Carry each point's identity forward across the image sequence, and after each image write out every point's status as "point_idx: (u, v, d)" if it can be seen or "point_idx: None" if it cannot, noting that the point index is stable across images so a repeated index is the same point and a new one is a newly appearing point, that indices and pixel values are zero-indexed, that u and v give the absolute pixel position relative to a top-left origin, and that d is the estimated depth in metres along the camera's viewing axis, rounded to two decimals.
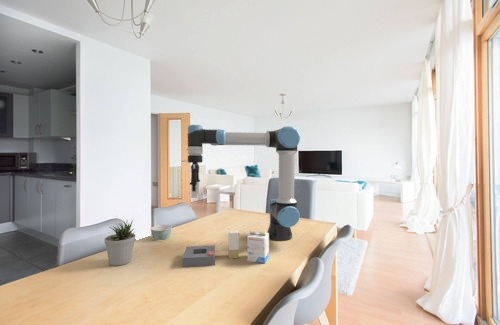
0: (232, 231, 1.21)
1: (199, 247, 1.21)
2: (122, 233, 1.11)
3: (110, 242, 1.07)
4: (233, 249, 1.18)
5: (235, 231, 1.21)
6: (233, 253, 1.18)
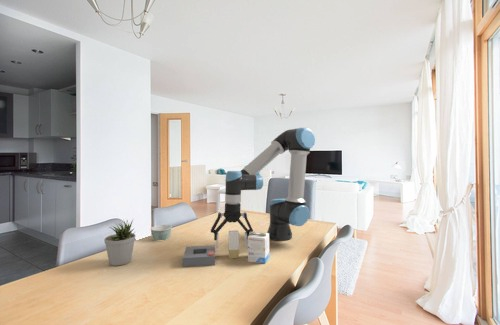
0: (232, 231, 1.21)
1: (199, 247, 1.21)
2: (122, 233, 1.11)
3: (110, 242, 1.07)
4: (233, 249, 1.18)
5: (235, 231, 1.21)
6: (233, 253, 1.18)
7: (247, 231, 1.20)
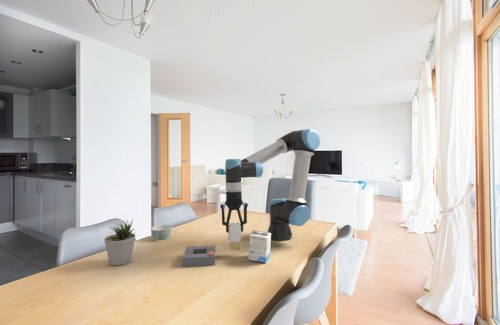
0: (233, 223, 1.21)
1: (199, 247, 1.21)
2: (122, 233, 1.11)
3: (110, 242, 1.07)
4: (234, 241, 1.18)
5: (236, 223, 1.21)
6: (234, 245, 1.18)
7: (241, 223, 1.20)
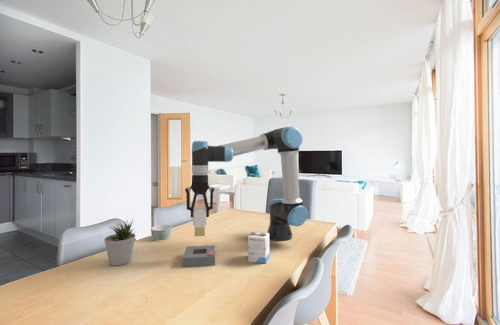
0: (198, 208, 1.16)
1: (199, 247, 1.21)
2: (122, 233, 1.11)
3: (110, 242, 1.07)
4: (198, 227, 1.13)
5: (201, 208, 1.16)
6: (198, 231, 1.13)
7: (207, 208, 1.15)
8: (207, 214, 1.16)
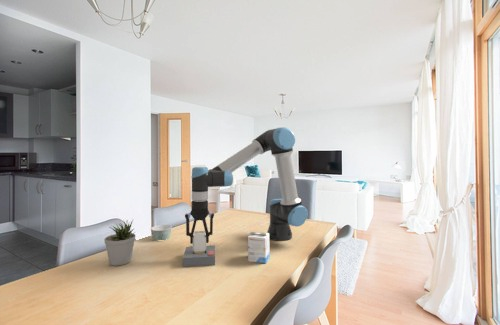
0: (198, 232, 1.16)
1: None
2: (122, 233, 1.11)
3: (110, 242, 1.07)
4: (198, 251, 1.13)
5: (201, 232, 1.16)
6: None
7: (207, 234, 1.15)
8: (207, 240, 1.16)
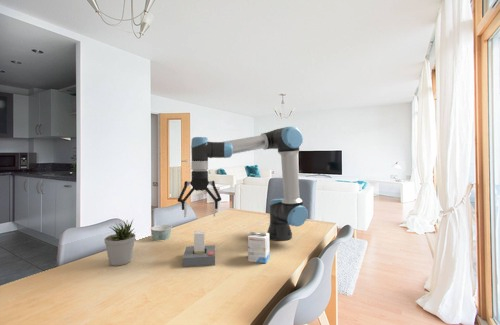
0: (198, 232, 1.16)
1: None
2: (122, 233, 1.11)
3: (110, 242, 1.07)
4: (198, 251, 1.13)
5: (201, 232, 1.16)
6: None
7: (215, 200, 1.16)
8: (216, 206, 1.16)
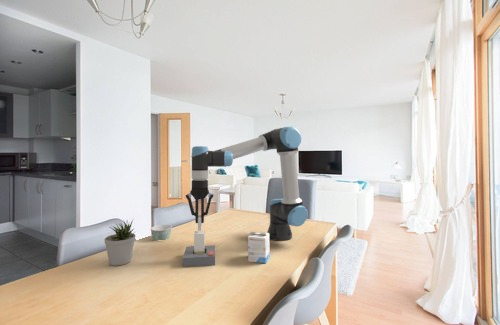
0: (198, 232, 1.16)
1: None
2: (122, 233, 1.11)
3: (110, 242, 1.07)
4: (198, 251, 1.13)
5: (201, 232, 1.16)
6: None
7: (202, 214, 1.15)
8: (202, 220, 1.16)
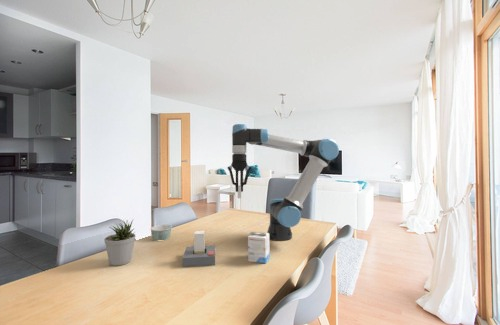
0: (198, 232, 1.16)
1: None
2: (122, 233, 1.11)
3: (110, 242, 1.07)
4: (198, 251, 1.13)
5: (201, 232, 1.16)
6: None
7: (242, 183, 1.32)
8: (241, 189, 1.32)
